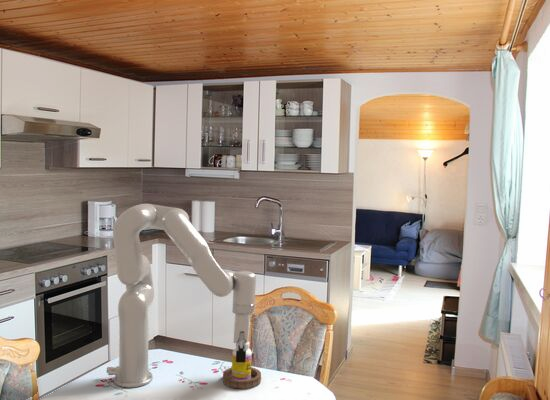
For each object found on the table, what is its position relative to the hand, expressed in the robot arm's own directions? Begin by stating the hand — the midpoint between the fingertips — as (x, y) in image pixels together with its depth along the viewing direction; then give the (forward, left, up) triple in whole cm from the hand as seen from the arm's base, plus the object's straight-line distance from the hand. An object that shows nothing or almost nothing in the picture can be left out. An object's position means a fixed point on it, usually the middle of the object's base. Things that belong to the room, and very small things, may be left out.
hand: (241, 356), depth 172 cm
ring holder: (+1, 0, -9) cm, 9 cm away
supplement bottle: (0, 0, -8) cm, 8 cm away
